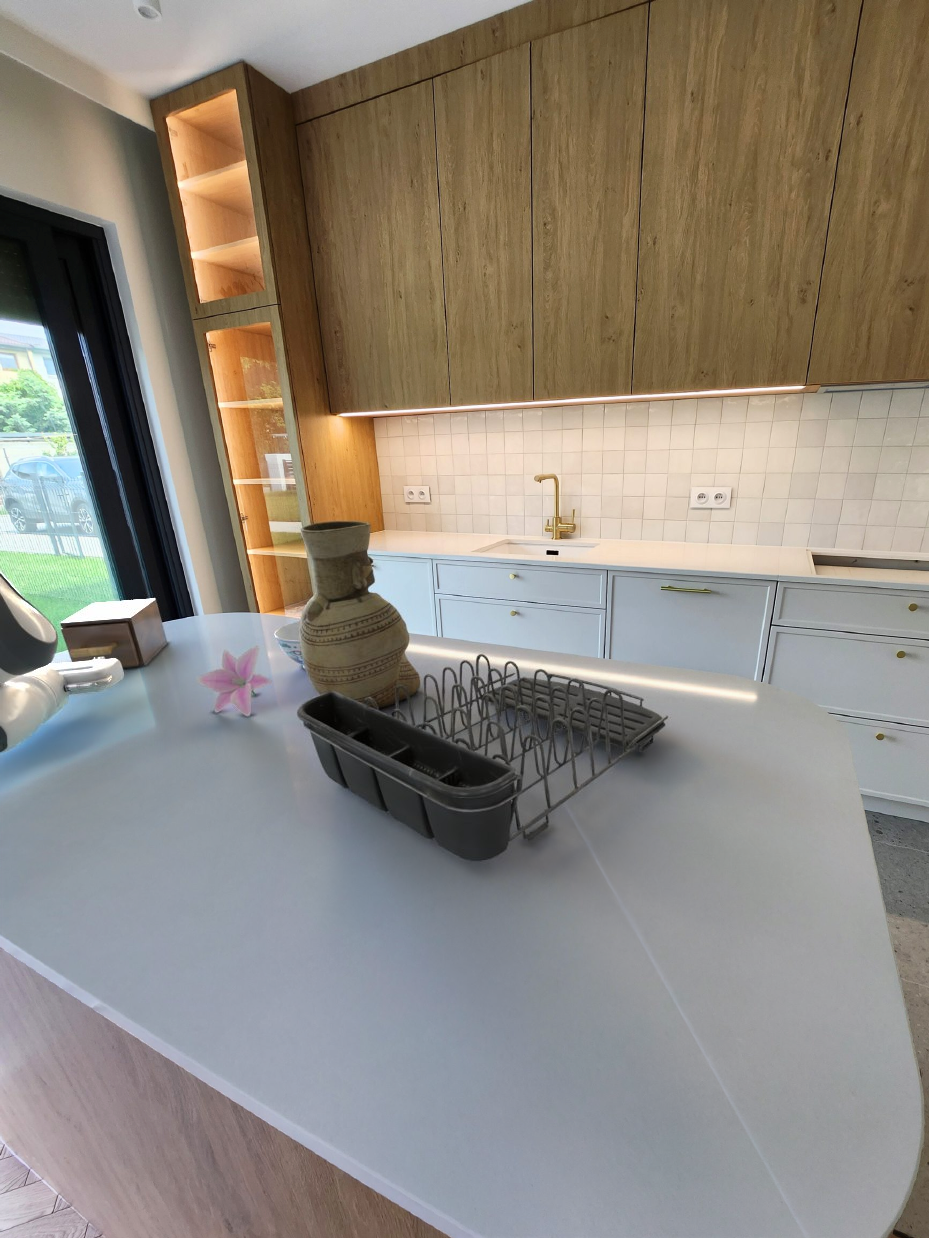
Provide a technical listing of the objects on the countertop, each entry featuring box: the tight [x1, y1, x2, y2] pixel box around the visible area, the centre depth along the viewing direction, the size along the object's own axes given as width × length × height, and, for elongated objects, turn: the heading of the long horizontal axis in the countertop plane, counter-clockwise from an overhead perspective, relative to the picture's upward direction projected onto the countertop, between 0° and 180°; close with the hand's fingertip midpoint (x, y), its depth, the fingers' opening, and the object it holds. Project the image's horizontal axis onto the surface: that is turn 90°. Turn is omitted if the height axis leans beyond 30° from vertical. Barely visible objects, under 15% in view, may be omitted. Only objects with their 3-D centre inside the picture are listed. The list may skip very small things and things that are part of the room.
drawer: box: [60, 621, 140, 667], centre depth 121 cm, size 19×11×9 cm, turn 13°
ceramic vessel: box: [299, 520, 421, 709], centre depth 98 cm, size 19×21×30 cm
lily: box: [197, 645, 272, 717], centre depth 101 cm, size 12×12×10 cm
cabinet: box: [59, 598, 168, 669], centre depth 125 cm, size 16×13×11 cm
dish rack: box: [296, 653, 669, 862], centre depth 79 cm, size 34×44×12 cm
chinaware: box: [274, 620, 306, 670], centre depth 118 cm, size 15×15×8 cm
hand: (72, 663), depth 106 cm, fingers open, 8 cm apart
